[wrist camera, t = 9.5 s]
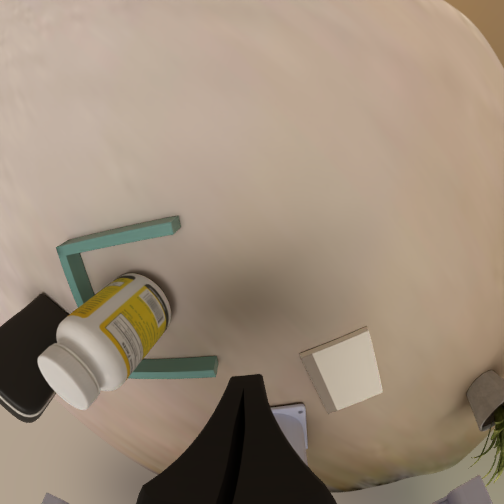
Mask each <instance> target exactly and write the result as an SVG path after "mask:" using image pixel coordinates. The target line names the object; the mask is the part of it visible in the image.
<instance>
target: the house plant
mask: <svg viewBox="0 0 504 504" xmlns="http://www.w3.org/2000/svg"><path fill="white" fill-rule="evenodd" d="M467 398H468V400H469V403H470V405H471V408H472V410H473V413H474V416H475V419H476V421H477V424H478V427H479V430H480V431H486V430H488V429H490V430H491V427H493V426H494V425H495V429H494V433H493V435H492V437H491V440H493V441H492V444H491V446H490V447H489V449H488V450H487V451H486V452H484V449H485V447H484V449H483V451H482V453H481V455H480V456H478V457H479V459H480V458H481V456H482V455H484V454H486V453H487V452H488V451H489V450H490V449H491V448H492V446H493V445H494V443H495V440H496V437H497V441H496V444H495V447H497V452H496V455H495V456H497V454H498V453H499V451H500V450H501V453H500V459H499V462H498V466H497V469H496V471H495V473H494V475H493V477H492V478H491V480H490V481H489V483H490V482H491V481H492V479H493V478H494V476H495V475H496V474H497V473H498V476H497V478H496V480H497V479H498V478H499V477H500V475H501V474H502V471H503V469H504V379H503V378H501V377H500V376H499V375H498V374H497V373H495V372H494V371H493V370H490V371H487V372H485V373H483V374H482V375H481V376H479V377H478V378H477V379H476V380H475V381H474V382H473V384H472V385H471V386H470V388H469V390H468V392H467ZM489 434H490V431H489ZM489 434H488V437H489ZM487 440H488V438H487ZM486 444H487V441H486ZM486 444H485V446H486ZM495 447H494V448H495ZM483 452H484V453H483ZM474 458H477V457H474ZM479 459H478V460H479ZM478 460H477V461H478ZM495 460H496V457H495ZM495 460H494V463H495ZM477 461H476V462H477ZM476 462H475V463H476ZM475 463H474V464H475ZM494 463H493V466H494ZM493 466H492V468H493ZM498 467H499V468H498ZM492 468H491V469H490V471H491V470H492ZM497 470H498V471H497ZM490 471H489V472H488V474H489V473H490ZM488 474H487V475H488ZM487 475H485V477H486V476H487ZM483 478H484V477H483ZM483 478H482V479H483ZM496 480H495V481H496ZM495 481H494V482H495ZM489 483H488V484H489ZM488 484H487V485H488ZM487 485H486V486H487ZM486 486H485V487H486Z"/></svg>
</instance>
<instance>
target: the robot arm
mask: <svg viewBox="0 0 504 504" xmlns="http://www.w3.org/2000/svg"><path fill="white" fill-rule="evenodd" d="M307 448H308V444H307V427H306V411H305V405H304V404H295V405H288V406H280V407H271V408H270V405H269V403H268V399H267V395H266V390H265V385H264V381H263V376H262V375H260V374H255V375H246V376H235V377H231V378H230V380H229V383H228V385H227V388H226V390H225V392H224V394H223V396H222V398H221V400H220V402H219V404H218V406H217V408H216V409H215V411H214V413H213V415H212V416H211V418H210V419H209V421H208V423H207V424H206V426H205V427H204V429H203V430H202V431H201V433H200V434H199V435H198V437H197V438H196V439H195V440H194V442H193V443H192V444H191V445H190V446H189V447H188V448H187V450H186V451H185V452H184V453H183V454H182V455H181V456H180V457H179V458H178V459H177V460H176V461H175V462H173V463H172V464H171V465H170V466H169V467H168V468H167V469H165V470H164V471H163V472H162V473H160V474H159V475H158V476H156V477H155V478H153V479H152V480H150V481H149V482H148V483H146V484H144V485H143V487H142V489H141V491H140V493H139V496H138V499H137V503H136V504H337V503H336V501H335V499H334V498H333V496H332V495H331V493H330V492H329V490H328V489H327V487H326V486H325V484H324V483H323V482H322V481H321V480H320V479H319V478H318V477H317V476H316V475H315V474H314V473H313V472H312V471H311V470H310V468H309V467H308V463H307V455H306V449H307ZM42 504H68V503H67V502H65V501H64V500H62V499H60V498H57V497H55V496H53V495H51V494H49V493H46V495H45V497H44V499H43V502H42ZM431 504H493V503H492V501H491V499H490V496H489V494H488V492H487V489H486V487H485V485H484V483H483V481H482V478H481V476H480V475H478V476H476V477H474V478H472V479H471V480H469V481H467V482H466V483H464V484H462V485H460V486H458V487H457V488H455V489H453V490H452V491H451V492H450V493H449V494H448V495H447V496H446V497H444V498H441V499H439V500H437V501H435V502H433V503H431Z"/></svg>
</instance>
